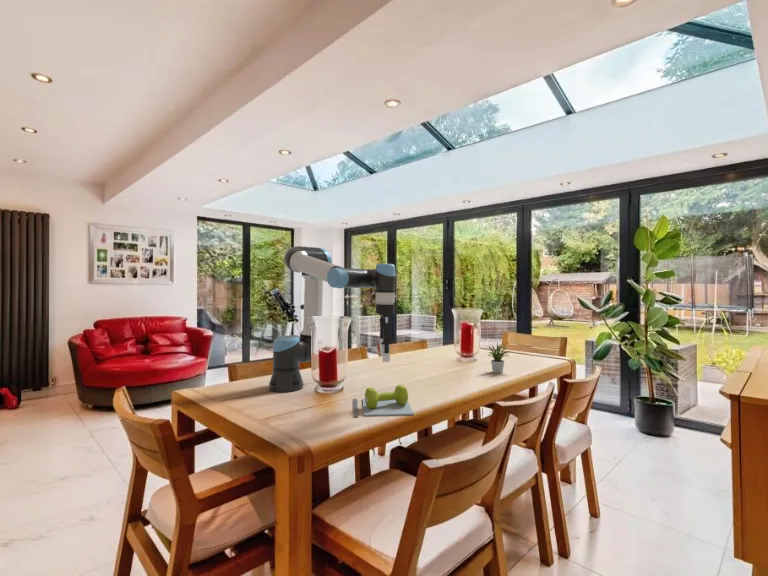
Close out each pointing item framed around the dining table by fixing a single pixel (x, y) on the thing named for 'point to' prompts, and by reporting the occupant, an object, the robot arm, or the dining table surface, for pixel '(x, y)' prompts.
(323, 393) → the dining table surface
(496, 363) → the house plant
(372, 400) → the dumbbell
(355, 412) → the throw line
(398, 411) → the mat
